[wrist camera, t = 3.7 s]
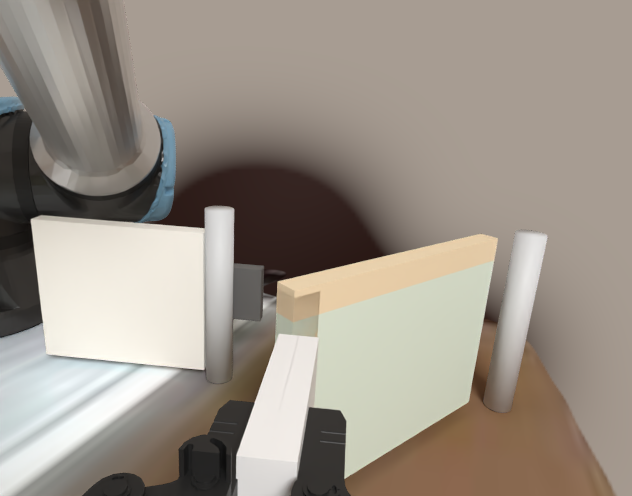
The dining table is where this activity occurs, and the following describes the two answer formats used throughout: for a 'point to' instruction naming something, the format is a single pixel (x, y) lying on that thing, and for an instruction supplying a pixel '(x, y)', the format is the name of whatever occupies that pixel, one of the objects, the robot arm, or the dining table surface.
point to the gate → (393, 338)
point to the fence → (203, 295)
